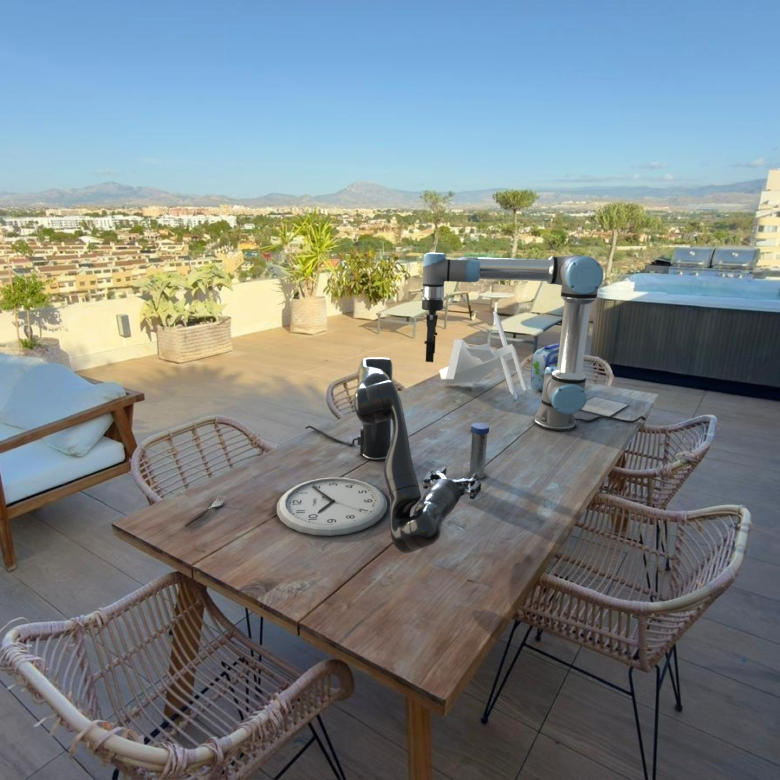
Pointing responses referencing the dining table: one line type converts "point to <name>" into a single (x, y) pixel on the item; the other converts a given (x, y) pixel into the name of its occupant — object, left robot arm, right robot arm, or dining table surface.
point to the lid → (480, 428)
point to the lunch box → (543, 364)
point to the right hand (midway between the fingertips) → (430, 357)
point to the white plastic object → (482, 362)
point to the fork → (215, 504)
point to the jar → (478, 455)
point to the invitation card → (603, 406)
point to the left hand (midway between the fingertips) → (460, 473)
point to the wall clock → (331, 506)
